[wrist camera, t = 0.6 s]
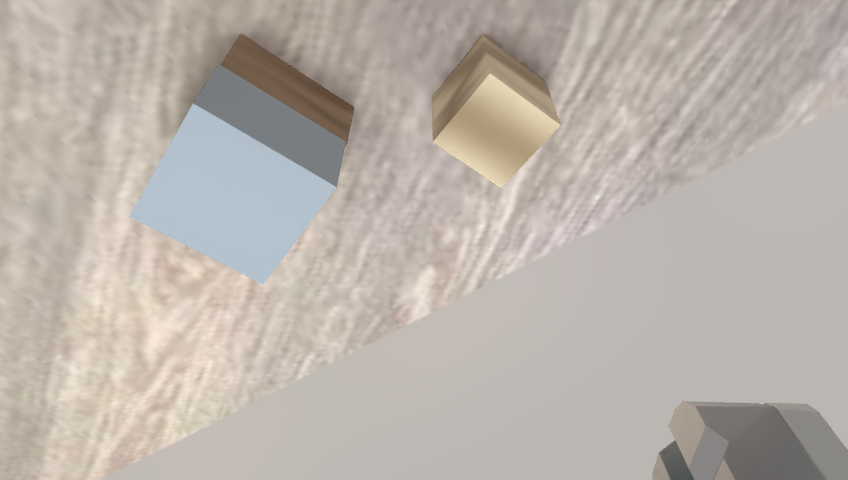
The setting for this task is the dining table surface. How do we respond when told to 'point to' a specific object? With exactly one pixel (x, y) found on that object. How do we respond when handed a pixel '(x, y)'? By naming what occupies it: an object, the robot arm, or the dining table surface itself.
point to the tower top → (241, 177)
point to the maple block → (492, 112)
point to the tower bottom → (289, 86)
